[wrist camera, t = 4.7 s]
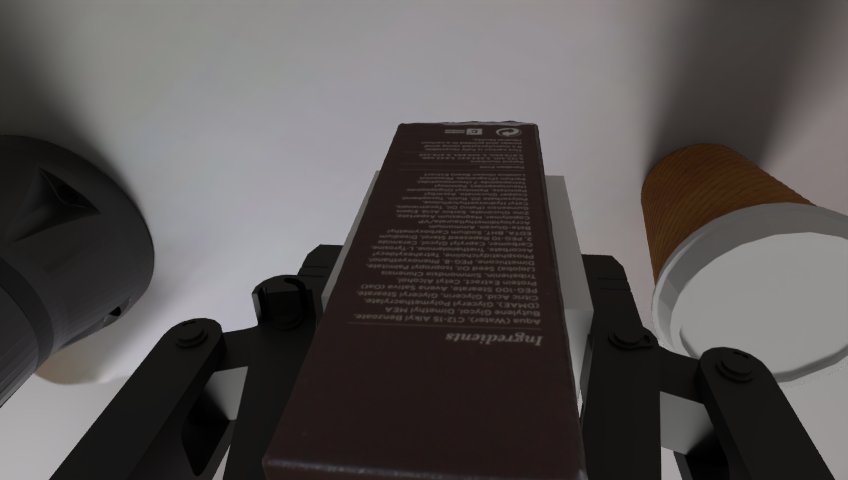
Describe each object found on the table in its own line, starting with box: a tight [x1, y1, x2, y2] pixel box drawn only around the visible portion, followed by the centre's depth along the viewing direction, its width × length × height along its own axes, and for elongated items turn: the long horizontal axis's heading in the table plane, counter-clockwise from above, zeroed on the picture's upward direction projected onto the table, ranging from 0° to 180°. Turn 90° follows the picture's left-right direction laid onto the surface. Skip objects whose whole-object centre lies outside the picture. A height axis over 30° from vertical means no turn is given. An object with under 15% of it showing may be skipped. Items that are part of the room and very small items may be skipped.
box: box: [262, 121, 588, 480], centre depth 13 cm, size 6×4×12 cm
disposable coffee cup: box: [641, 144, 848, 389], centre depth 29 cm, size 10×10×12 cm
